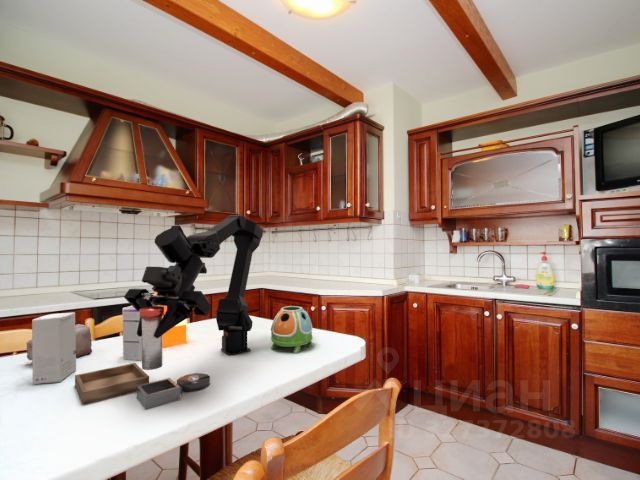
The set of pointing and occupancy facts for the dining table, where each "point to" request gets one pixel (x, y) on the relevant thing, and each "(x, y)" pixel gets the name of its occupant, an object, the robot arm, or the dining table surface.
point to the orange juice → (174, 333)
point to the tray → (109, 382)
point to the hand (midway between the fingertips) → (147, 336)
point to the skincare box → (53, 347)
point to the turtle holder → (291, 328)
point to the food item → (81, 342)
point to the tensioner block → (169, 389)
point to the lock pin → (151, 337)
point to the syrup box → (131, 334)
